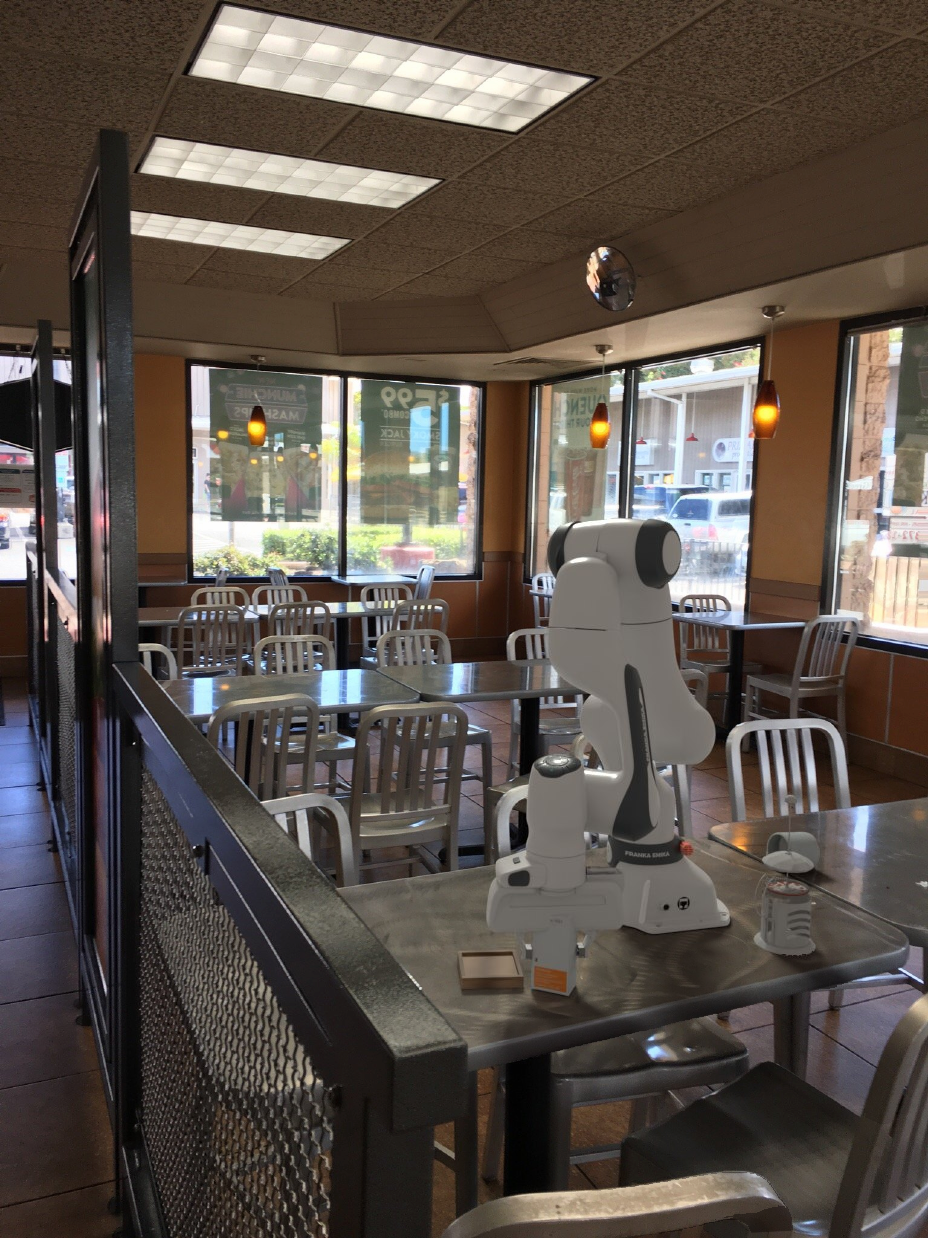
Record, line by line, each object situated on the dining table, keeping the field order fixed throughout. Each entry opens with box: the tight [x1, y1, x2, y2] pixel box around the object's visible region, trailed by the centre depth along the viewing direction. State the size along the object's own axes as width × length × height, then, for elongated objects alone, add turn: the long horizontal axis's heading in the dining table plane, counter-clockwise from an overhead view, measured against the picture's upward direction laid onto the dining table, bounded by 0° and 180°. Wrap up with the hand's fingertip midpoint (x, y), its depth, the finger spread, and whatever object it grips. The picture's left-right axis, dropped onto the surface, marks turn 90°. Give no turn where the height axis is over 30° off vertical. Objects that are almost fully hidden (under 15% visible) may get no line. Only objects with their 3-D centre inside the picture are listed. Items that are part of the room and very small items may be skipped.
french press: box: [753, 794, 816, 957], centre depth 163 cm, size 10×12×25 cm
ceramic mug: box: [765, 831, 822, 873], centre depth 200 cm, size 11×8×8 cm
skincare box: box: [530, 915, 579, 997], centre depth 147 cm, size 6×4×12 cm
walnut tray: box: [457, 949, 525, 990], centre depth 152 cm, size 9×9×2 cm
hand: (554, 957), depth 148 cm, fingers closed on skincare box, 7 cm apart
